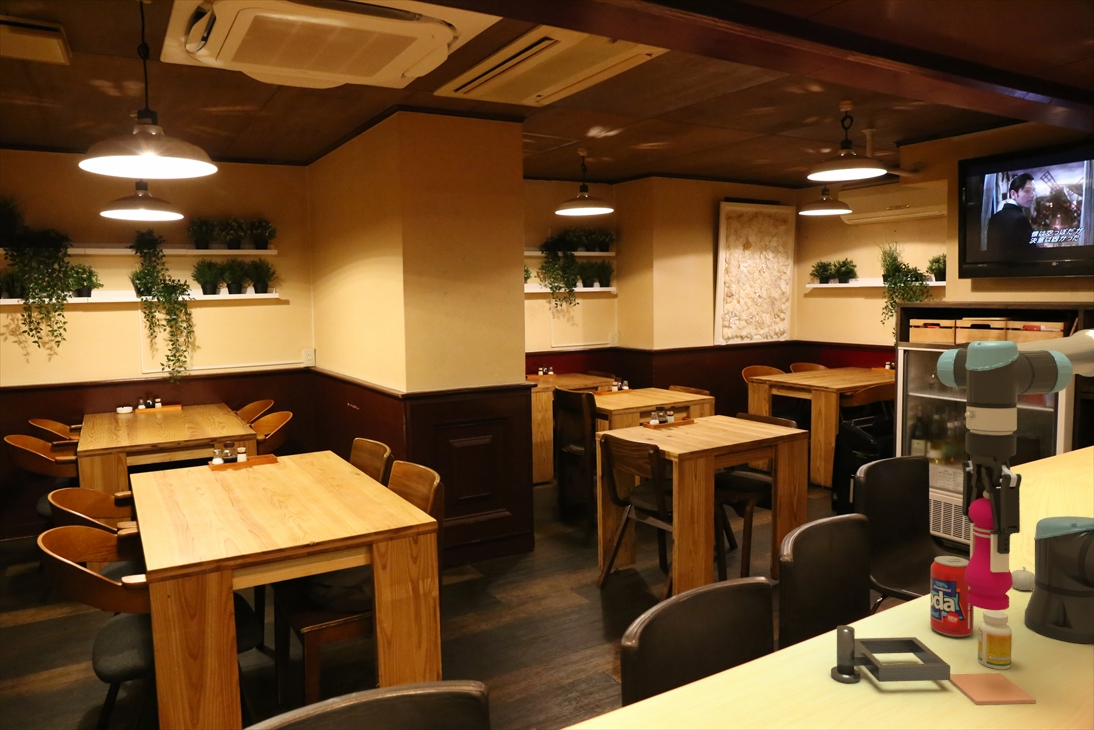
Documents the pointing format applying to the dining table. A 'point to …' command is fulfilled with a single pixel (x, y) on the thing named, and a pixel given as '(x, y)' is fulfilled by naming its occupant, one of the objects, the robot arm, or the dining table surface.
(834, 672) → the square frame with post
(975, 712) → the dining table surface
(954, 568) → the soda can
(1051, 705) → the dining table surface
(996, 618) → the supplement bottle
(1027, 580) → the garlic
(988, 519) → the pepper mill
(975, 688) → the terracotta tile
